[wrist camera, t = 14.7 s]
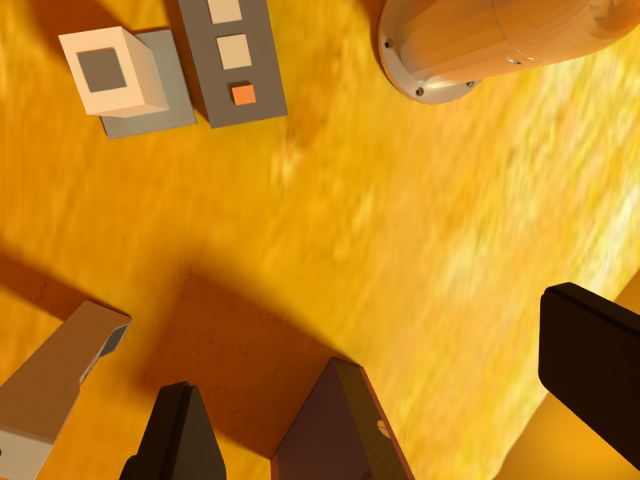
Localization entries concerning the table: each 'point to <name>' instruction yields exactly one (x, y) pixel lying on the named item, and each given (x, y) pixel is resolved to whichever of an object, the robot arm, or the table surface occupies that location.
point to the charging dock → (234, 60)
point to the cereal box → (340, 433)
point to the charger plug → (114, 73)
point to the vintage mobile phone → (52, 387)
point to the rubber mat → (173, 90)
